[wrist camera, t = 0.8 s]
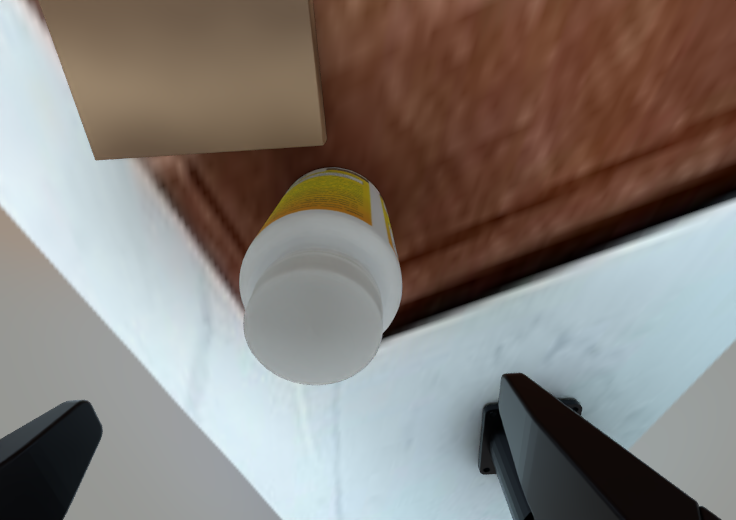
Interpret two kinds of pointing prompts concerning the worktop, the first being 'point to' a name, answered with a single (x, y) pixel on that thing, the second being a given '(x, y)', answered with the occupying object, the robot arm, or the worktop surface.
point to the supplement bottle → (321, 279)
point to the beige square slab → (190, 74)
